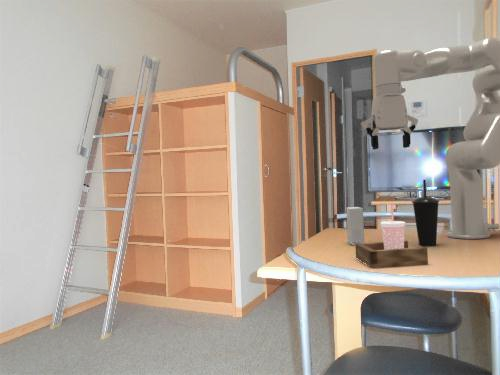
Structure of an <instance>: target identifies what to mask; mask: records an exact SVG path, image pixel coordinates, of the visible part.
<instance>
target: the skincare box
mask: <svg viewBox="0 0 500 375" xmlns="http://www.w3.org/2000/svg"><path fill="white" fill-rule="evenodd" d="M364 223H365V222H364V207H359V206H353V207H352V206H351V207H349V206H347V207H346V228H347V230H346V232H347V243H348V244H349V245H352V246H355V244H360V243H366V242H365V224H364Z"/></svg>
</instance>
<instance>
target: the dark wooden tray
mask: <svg viewBox="0 0 500 375" xmlns="http://www.w3.org/2000/svg"><path fill="white" fill-rule="evenodd" d="M354 246H355V259H356V258H358V259H359V260H361V261H362V262H361V261H360V262H361V263H363V262H364V263H366V264H367V265H369V266H370V267H369V266H368V267H369V268H370V269H376V268H375V267H381V268H395V267H409V266H408V265H411V266H421V265H420V264H425V265H428V264H429V259H428V258H429V257H428V247H427V246H419V247H409V241H408V240H404V248H401V249H386V250H384V242H383V241H379V242H378V241H377V242H365V243H360V244H355V245H354ZM358 259H357V260H358ZM359 260H358V261H359ZM364 263H363V264H364ZM366 264H365V265H366ZM367 265H366V266H367Z"/></svg>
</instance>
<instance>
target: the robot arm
mask: <svg viewBox="0 0 500 375" xmlns="http://www.w3.org/2000/svg"><path fill="white" fill-rule="evenodd" d="M488 66H489V67H488ZM480 69H481V70H480ZM476 70H479V71H478V72H476V73H475V75H474V76H473V77H472V88H473V91H474V94H475V97H476V102H477V104H476V106H475V109H474V110H473V112H472V114H471V115H470V117H469V120H468V121H467V123H466V125H465V126H464V130H463V135H462V136H463V138H464V141H458V142H456V143H453V144H451V145H450V146H449V147H448V148H447V149H446V151H445V155H444V156H445V157H444V158H445V163H446V167H447V171H448V175H449V176H448V178H449V186H450V187H449V188H450V189H449V191H450V193H449V194H450V209H451V210H450V212H451V215H450V216H451V231H448V232H446V235H447V237H449V238H453V239H454V238H455V239H462V240H464V239H465V240H469V239H470V240H473V239H474V240H476V239H477V240H478V239H480V240H481V239H487V238H490V237H491V232H490V231H491V230H499V229H500V224H499V223H488V222H486V221H485V208H484V206H485V205H484V186H483V180H482V178H481V175H480V174H479V172H478V170H490V169H494V168H496V167H498V166H499V165H500V94H499V93H498V91H500V40H499V39H497V38H495V37H486V38H484V39H480V40H478V41H476V42H474V43H472V44H466V45H457V46H446V47H439V48H436V49H433V50H430V51H428V52H424V51H422V50H420V49H419V50H418V49H406V50H399V51H398V50H393V49H387V50H382V51H379V52H377V53H376V54H375V55H374V57H373V72H374V74H373V75H374V89H375V97H374V98H372V101H371V102H372V103H371V115H370V117H369V118H368V119H366V120H364V121H362V122H361V126H362V127H363V130H364V131H365V132H366V134H367V135H368V136H369V137H370V145H371V146H370V147H372V149H373V150H378V149H379V145H380V144H379V136H378V135H377V134H378V133H379V131H392V130H393V131H395V130H400V131H401V132H402V133H403V134H402V147H403V148H404V149H405V148H410V145H411V134H412V133H413V131H414V130H415V129H416V126H417V125H418V122H419V120H418V118H415V117H413V116H412V115H409V114H408V109H407V104H406V100H405V97H404V96H405V95H402V94H403V93H406V88H405V87H404V88H403V86H402V82H409V81H414V80H421V79H426V78H435V77H438V76H443V75H452V74H460V73H467V72H468V73H469V72H473V71H476ZM409 122H410V126H408V123H409ZM369 124H371V125H370V126H371V127H370V126H369Z"/></svg>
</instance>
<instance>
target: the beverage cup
mask: <svg viewBox="0 0 500 375" xmlns="http://www.w3.org/2000/svg"><path fill="white" fill-rule="evenodd" d="M390 211H391V213H390V214H391V220H387V221H386V220H385V221H381V222H379V223H380V226H381V230H382V231H381V232H382V240H383V241H382V242H384V250H386V249H401V248H404V241H405V227H406V221H402V220H395V218H394V203H393V202H390Z"/></svg>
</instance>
